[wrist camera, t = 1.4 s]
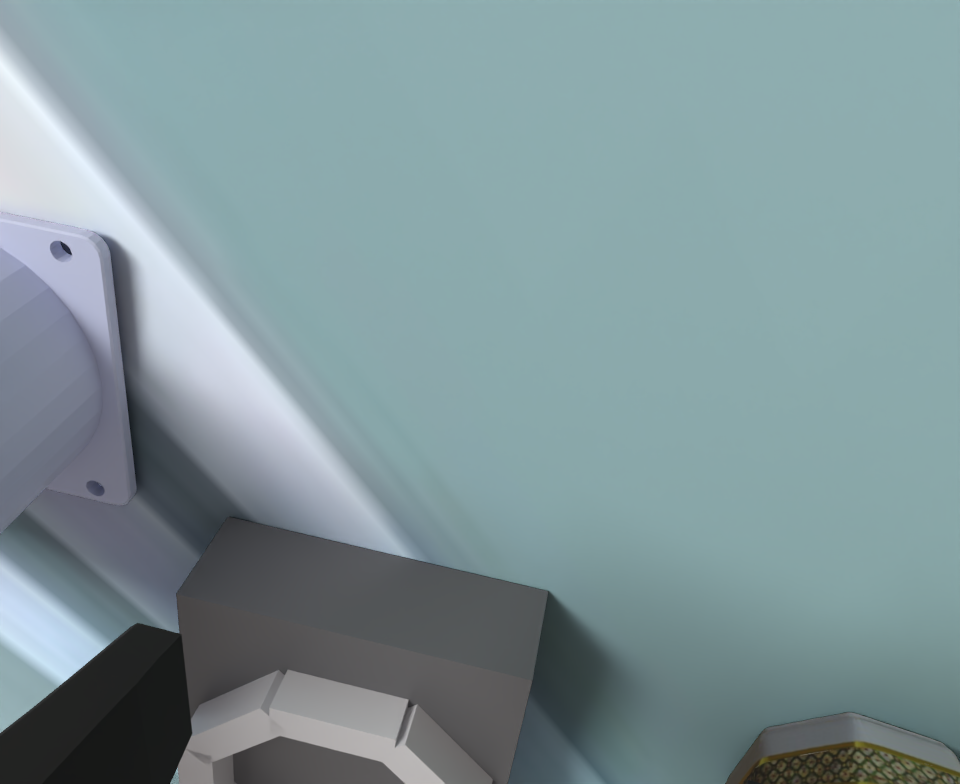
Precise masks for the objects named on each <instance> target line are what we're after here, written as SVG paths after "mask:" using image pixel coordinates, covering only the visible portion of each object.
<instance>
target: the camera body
mask: <svg viewBox="0 0 960 784" xmlns="http://www.w3.org/2000/svg"><path fill="white" fill-rule="evenodd" d="M547 596H548V591H545V590H541V589H536V588H532V587H528V586H523V585H519V584H515V583H510V582H506V581H502V580H498V579H493V578H489V577H485V576H480V575H476V574H472V573H468V572H463V571H459V570H455V569H450V568H446V567H442V566H438V565H433V564H429V563H425V562H420V561H416V560H412V559H407V558H403V557H399V556H395V555H390V554H386V553H382V552H377V551H373V550H369V549H365V548H360V547H356V546H352V545H347V544H343V543H339V542H335V541H330V540H326V539H322V538H317V537H313V536H309V535H305V534H300V533H296V532H292V531H287V530H283V529H279V528H274V527H270V526H266V525H262V524H257V523H253V522H249V521H244V520H240V519H236V518H232V517H227V519H226V520H225V522H224V523H223V525H222V526H221V528H220V529H219V531H218V532H217V534H216V535H215V537H214V538H213V540H212V541H211V543H210V544H209V546H208V547H207V549H206V550H205V552H204V553H203V555H202V556H201V558H200V559H199V561H198V562H197V564H196V565H195V567H194V568H193V570H192V571H191V573H190V574H189V576H188V577H187V579H186V580H185V582H184V583H183V585H182V586H181V588H180V589H179V591H178V592H177V594H176V597H177V608H178V619H179V631H180V634H182V643H183V653H184V662H185V671H186V680H187V689H188V698H189V707H190V716H191V725H192V736H191V738H190V740H189V742H188V745H187V747H186V749H185V751H184V754H183V756H182V758H181V760H180V762H179V765H178V774H179V784H508V780H509V775H510V771H511V767H512V763H513V759H514V755H515V751H516V747H517V742H518V738H519V734H520V730H521V726H522V722H523V718H524V713H525V709H526V705H527V701H528V697H529V693H530V689H531V685H532V680H533V675H534V669H535V663H536V658H537V652H538V647H539V641H540V635H541V630H542V624H543V618H544V613H545V607H546V602H547Z"/></svg>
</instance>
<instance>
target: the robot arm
mask: <svg viewBox="0 0 960 784" xmlns="http://www.w3.org/2000/svg"><path fill="white" fill-rule="evenodd" d="M60 241H61V242H63V243H65V244H66V245H67V246H68V247H69V248H70V250H71V253H72V255H70V254H68V253H66V252H65V251H64V250H63V248H62V246H61V244H60ZM97 482H99V483H100V484H101V485H102V486H101V485H99V484H98V483H97ZM44 489H48V490H52V491H57V492H61V493H65V494H69V495H74V496H78V497H82V498H87V499H91V500H95V501H99V502H104V503H108V504H112V505H119V506H123V505H126V504H128V502H129V501H130V500H131V499H132V498H133V497H134V495H135V494H136V490H137V487H136V478H135V469H134V460H133V451H132V443H131V434H130V425H129V416H128V407H127V398H126V389H125V380H124V371H123V363H122V354H121V345H120V336H119V327H118V318H117V309H116V300H115V291H114V283H113V274H112V265H111V256H110V252H109V248H108V246H107V244H106V243H105V241H104V240H103V239H102V238H101V237H100V236H99V235H97V234H96V233H94V232H92V231H89V230H86V229H81V228H76V227H71V226H67V225H62V224H57V223H52V222H47V221H42V220H37V219H32V218H27V217H23V216H18V215H13V214H8V213H3V212H0V534H1V533H2V532H3V531H4V530H5V529H6V528H7V527H8V526H9V525H10V524H11V523H12V522H13V521H14V520H15V519H16V518H17V517H18V516H19V515H20V514H21V513H22V512H23V511H24V510H25V509H26V508H27V507H28V505H29V504H30V503H31V502H32V501H33V500H34V499H35V498H36V497H37V496H38V495H39V494H40V493H41V492H42V491H43V490H44ZM191 736H192V725H191V716H190V707H189V698H188V689H187V680H186V671H185V662H184V653H183V643H182V634H178V633H175V632H171V631H167V630H163V629H159V628H155V627H151V626H147V625H143V624H140V623H137V624H135V625H133V626H131V627H130V628H129V629H128V630H126V631H125V632H124V633H123V634H122V635H120V636H119V637H118V638H117V639H116V640H114V641H113V642H112V643H111V644H110V645H108V646H107V647H106V648H105V649H104V650H102V651H101V652H100V653H99V654H98V655H96V656H95V657H94V658H93V659H92V660H90V661H89V662H88V663H87V664H86V665H85V666H83V667H82V668H81V669H80V670H78V671H77V672H76V673H75V674H74V675H72V676H71V677H70V678H69V679H68V680H66V681H65V682H64V683H63V684H62V685H60V686H59V687H58V688H57V689H55V690H54V691H53V692H52V693H50V694H49V695H48V696H47V697H46V698H44V699H43V700H42V701H41V702H39V703H38V704H37V705H36V706H34V707H33V708H32V709H31V710H29V711H28V712H27V713H26V714H24V715H23V716H22V717H20V718H19V719H18V720H17V721H15V722H14V723H13V724H11V725H10V726H9V727H8V728H6V729H5V730H4V731H3V732H1V733H0V784H170V782H171V780H172V778H173V776H174V774H175V771H176V769H177V767H178V765H179V762H180V760H181V758H182V756H183V754H184V751H185V749H186V747H187V745H188V742H189V740H190V738H191ZM746 784H762V783H758V782H754V781H750V780H748V781H747V783H746Z"/></svg>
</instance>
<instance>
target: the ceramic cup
mask: <svg viewBox="0 0 960 784" xmlns="http://www.w3.org/2000/svg"><path fill="white" fill-rule="evenodd" d="M748 780H750V781H754V782H758V783H762V784H960V762H959V761H958V759H957V757H956V755H955V754H954V753H953V751H951V750H950V749H949V748H947V747H946V746H945V745H944V744H943V743H942V742H939V741H936V740H934V739H931V738H928V737H925V736H922V735H919V734H916V733H913V732H910V731H907V730H904V729H901V728H898V727H895V726H892V725H889V724H886V723H883V722H880V721H877V720H874V719H871V718H868V717H865V716H862V715H859V714H856V713H852V712H847V713H842V714H837V715H831V716H826V717H821V718H816V719H810V720H805V721H800V722H794V723H789V724H784V725H778V726H773V727H768V728H766V729H764V730H763V731H762V732H761V734H760V735H759V736H758V737H757V739H756V740H755V741H754V743H753V744H752V746H751V747H750V748H749V750H748V751H747V752H746V754H745V755H744V756H743V758H742V759H741V761H740V762H739V763H738V765H737V766H736V767H735V769H734V770H733V772H732V773H731V774H730V776H729V777H728V780H727V782H726V783H725V784H746V783H747V781H748Z"/></svg>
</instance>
